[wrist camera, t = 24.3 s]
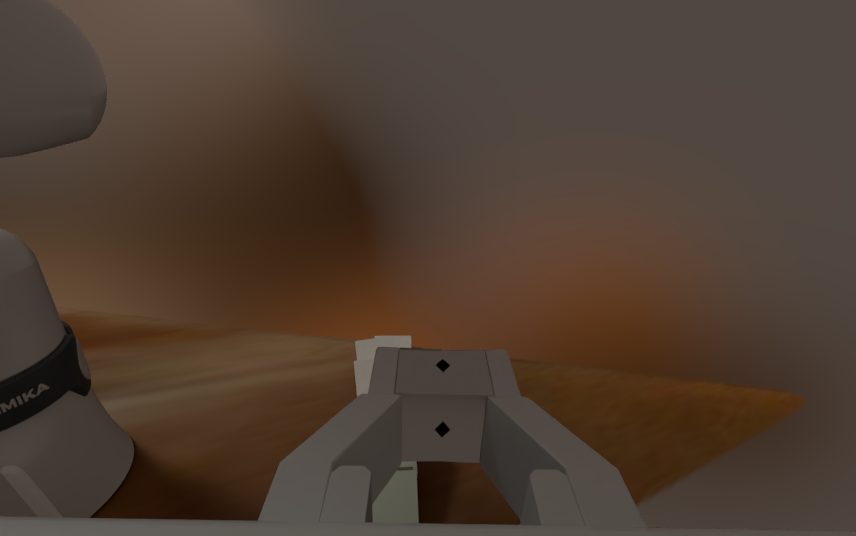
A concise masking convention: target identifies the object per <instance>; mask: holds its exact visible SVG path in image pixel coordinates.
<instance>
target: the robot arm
mask: <svg viewBox="0 0 856 536" xmlns="http://www.w3.org/2000/svg"><path fill="white" fill-rule="evenodd" d="M106 100H107V86H106V80H105V76H104V72H103V69H102V66H101V63H100V61H99V58H98V56H97V54H96V52H95V50H94V49H93V47H92V45H91V44H90V42H89V41H88V39H87V38H86V37H85V35H84V34H83V33H82V31H81V30H80V29H79V28H78V27H77V26H76V24H74V22H73V21H72V20H71V19H70V18H69V17H68V16H67V15H66V14H65V13H64V12H63V11H62V10H60V9H59V8H58V7H57V6H55V5H54V4H53V3H51V2H50V1H49V0H0V158H4V157H17V156H21V155H26V154H30V153H34V152H38V151H43V150H47V149H51V148H55V147H58V146H62V145H66V144H70V143H73V142H77V141H81V140H84V139H87V138H89V137H90V136H91V135H92V134H93V133H94V131H95V130H96V128H97V127H98V125H99V124H100V122H101V119H102V117H103V115H104V111H105V107H106ZM133 456H134V445H133V442H132V439H131V438H130V436H129V435H128V434H127V433H126V432H125V431H124V430H123V429H122V428H121V427H120V426H119V425H118V424H117V423H116V422H115V421H114V420H113V419H112V418H111V416H110V415H109V414H108V412H107V411H106V410H105V408H104V407H103V405H102V404H101V402H100V401H99V399H98V398H97V396H96V394H95V393H94V391H93V389H92V387H91V373H90V370H89V367H88V364H87V362H86V359H85V356H84V353H83V351H82V348H81V346H80V343H79V341H78V339H77V338H75V336H74V334H73V331H72V329H71V327H70V326H69V325H68V324H67V323H65V322H64V321H61V319H60V316H59V314H58V311H57V309H56V306H55V303H54V301H53V298H52V296H51V293H50V291H49V288H48V286H47V283H46V281H45V278H44V275H43V273H42V270H41V268H40V265H39V263H38V260H37V258H36V256H35V253H34V252H33V251H32V249H31V248H30V247H29V246H28V245H27V244H26V243H25V242H24V241H22V240H21V239H20V238H18V237H17V236H15V235H13V234H12V233H10V232H8V231H6V230H4V229H1V228H0V536H856V531H848V530H847V531H846V530H789V529H787V530H786V529H726V528H661V527H659V528H658V527H646V526H645V524H644V522H643V520H642V518H641V516H640V514H639V512H638V510H637V508H636V506H635V504H634V501H633V499H632V497H631V495H630V493H629V491H628V489H627V487H626V485H625V483H624V481H623V479H622V477H621V475H620V473H619V471H618V469H617V468H615V467H614V466H613V465H612V464H610V463H609V462H608V461H607V460H605V459H604V458H603V457H602V456H600V455H599V454H598V453H597V452H595V451H594V450H593V449H592V448H590V447H589V446H588V445H587V444H585V443H584V442H583V441H582V440H580V439H579V438H578V437H577V436H575V435H574V434H573V433H572V432H570V431H569V430H568V429H567V428H565V427H564V426H563V425H562V424H560V423H559V422H558V421H557V420H555V419H554V418H553V417H552V416H550V415H549V414H548V413H547V412H545V411H544V410H543V409H542V408H540V407H539V406H538V405H537V404H535V403H534V402H533V401H532V400H530V399H529V398H528V397H521V395H520V392H519V389H518V385H517V382H516V379H515V375H514V372H513V369H512V366H511V362H510V359H509V356H508V352H507V351H506V350H442V349H425V348H402V347H400V348H398V347H377V349H376V352H375V358H374V363H373V368H372V374H371V379H370V385H369V390H368V394H360V395H359V396H358V397H357V398H356V399H354V400H353V401H352V402H351V403H350V404H349V405H347V406H346V407H345V408H344V409H343V410H341V411H340V412H339V413H338V414H337V415H336V416H334V417H333V418H332V419H331V420H330V421H328V422H327V423H326V424H325V425H324V426H322V427H321V428H320V429H319V430H318V431H317V432H315V433H314V434H313V435H312V436H311V437H309V438H308V439H307V440H306V441H305V442H304V443H302V444H301V445H300V446H299V447H298V448H296V449H295V450H294V451H293V452H292V453H291V454H289V455H288V456H287V457H286V458H285V459H283V460H282V461H281V462H280V464H279V467H278V469H277V472H276V474H275V477H274V480H273V482H272V485H271V487H270V490H269V493H268V495H267V498H266V500H265V503H264V506H263V508H262V511H261V513H260V516H259V519H258V521H244V520H183V519H122V518H90V517H91V516H92V515H93V514H94V513H95V512H96V511H97V510H98V509H99V508H100V507H102V506H103V505H104V503H105V502H106V501H107V500H108V499H109V498H110V497H111V496H112V495H113V494H114V492H115V491H116V490H117V489H118V487H119V486H120V485H121V483H122V482H123V480H124V479H125V477H126V475H127V473H128V471H129V469H130V467H131V464H132V461H133ZM440 460H441V461H448V462H469V463H480V466H481V467H482V469H483V470H484V471H485V473H486V474H487V475H488V477H489V478H490V479H491V481H492V482H493V483H494V485H495V486H496V488H497V489H498V490H499V492H500V493H501V494H502V496H503V497H504V498H505V500H506V501H507V502H508V504H509V505H510V506H511V508H512V509H513V510H514V512H515V513H516V514H517V516H518V517H519V518H520V520H521V521H520V525H490V524H428V523H373V515H372V505H373V503H374V502H375V500H376V499H377V498H378V496H379V495H380V493H381V492H382V490H383V489H384V488H385V486H386V485H387V483H388V482H389V481H390V479H391V478H392V476H393V475H394V474H395V472H396V471H397V469H398V468H399V466H400V465H401V461H440Z"/></svg>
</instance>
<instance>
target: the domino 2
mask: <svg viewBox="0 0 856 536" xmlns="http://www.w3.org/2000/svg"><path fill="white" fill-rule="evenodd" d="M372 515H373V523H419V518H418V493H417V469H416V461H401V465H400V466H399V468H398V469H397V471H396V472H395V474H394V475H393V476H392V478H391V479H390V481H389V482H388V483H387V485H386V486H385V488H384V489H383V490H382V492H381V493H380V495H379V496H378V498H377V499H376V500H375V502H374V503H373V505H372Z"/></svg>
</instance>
